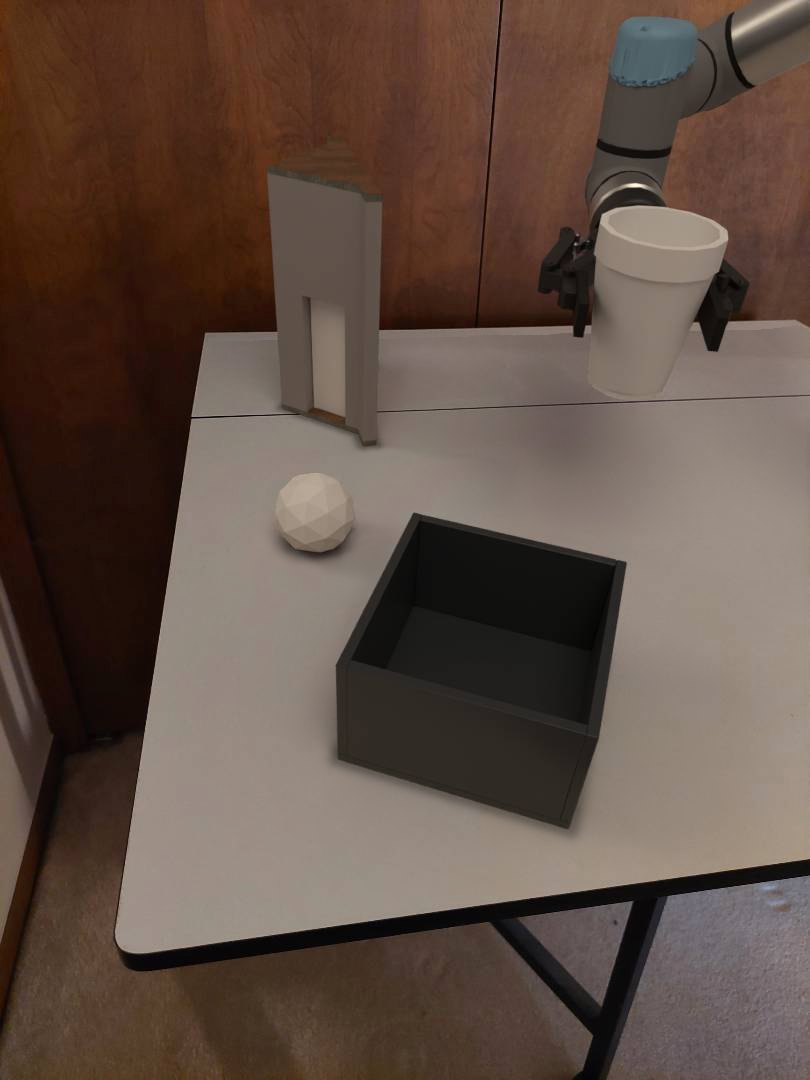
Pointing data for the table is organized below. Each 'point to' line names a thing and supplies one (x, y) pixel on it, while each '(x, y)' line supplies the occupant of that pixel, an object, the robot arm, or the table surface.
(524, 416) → the table surface
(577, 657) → the waste bin
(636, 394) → the foam cup
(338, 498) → the geometric ball
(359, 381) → the cabinet
